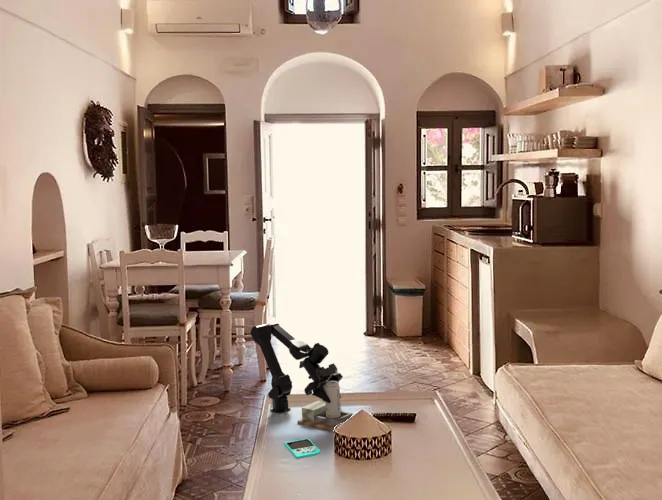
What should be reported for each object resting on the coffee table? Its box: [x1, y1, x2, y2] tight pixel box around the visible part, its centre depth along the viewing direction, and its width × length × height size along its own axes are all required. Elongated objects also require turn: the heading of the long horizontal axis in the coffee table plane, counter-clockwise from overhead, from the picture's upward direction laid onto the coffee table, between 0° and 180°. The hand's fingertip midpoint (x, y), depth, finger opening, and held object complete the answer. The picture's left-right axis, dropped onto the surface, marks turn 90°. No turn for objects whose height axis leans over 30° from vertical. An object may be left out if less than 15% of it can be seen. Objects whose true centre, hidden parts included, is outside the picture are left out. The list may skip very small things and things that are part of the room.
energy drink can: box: [325, 381, 342, 420], centre depth 300 cm, size 6×6×15 cm
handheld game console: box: [284, 437, 321, 459], centre depth 275 cm, size 10×16×1 cm, turn 20°
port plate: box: [296, 400, 354, 433], centre depth 303 cm, size 20×16×6 cm
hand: (335, 400), depth 300 cm, fingers closed on energy drink can, 6 cm apart
